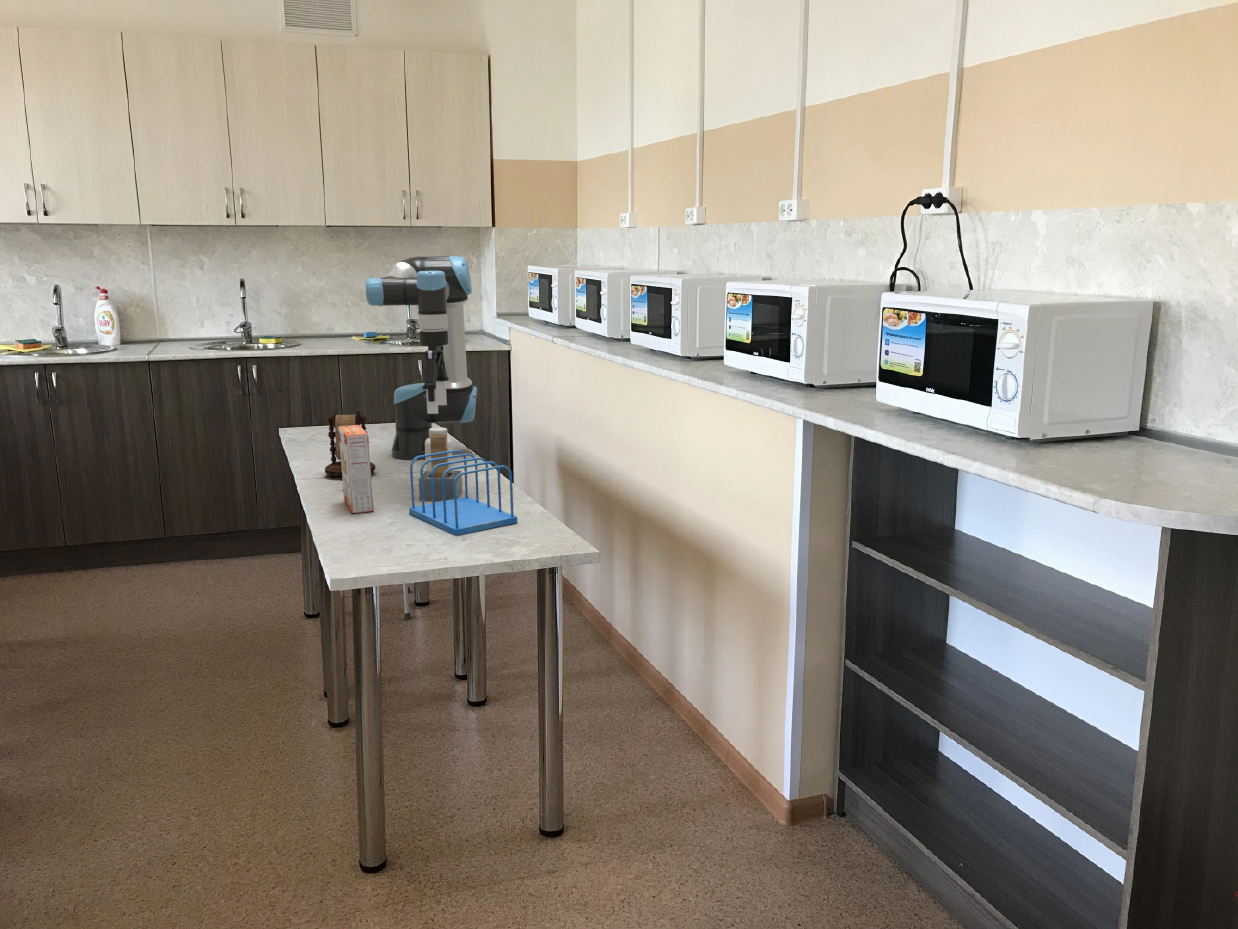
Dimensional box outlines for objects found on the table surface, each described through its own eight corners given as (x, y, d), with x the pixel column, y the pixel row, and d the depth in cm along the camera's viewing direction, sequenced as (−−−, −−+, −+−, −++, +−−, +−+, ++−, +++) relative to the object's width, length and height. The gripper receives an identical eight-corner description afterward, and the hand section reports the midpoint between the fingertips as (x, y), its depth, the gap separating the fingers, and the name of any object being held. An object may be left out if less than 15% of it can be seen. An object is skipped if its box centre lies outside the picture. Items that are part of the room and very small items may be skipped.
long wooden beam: (434, 491, 273) (432, 434, 269) (449, 491, 273) (446, 434, 269) (432, 493, 270) (430, 436, 266) (447, 493, 270) (444, 436, 266)
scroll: (319, 481, 290) (314, 413, 286) (332, 469, 305) (327, 405, 300) (369, 480, 291) (365, 413, 286) (380, 469, 305) (376, 405, 301)
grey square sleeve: (426, 491, 276) (425, 470, 275) (462, 491, 276) (461, 470, 275) (419, 500, 267) (418, 479, 265) (456, 500, 267) (455, 478, 265)
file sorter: (408, 514, 253) (405, 456, 250) (468, 503, 264) (465, 447, 260) (455, 536, 234) (453, 473, 231) (518, 523, 245) (516, 463, 241)
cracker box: (342, 502, 266) (337, 425, 261) (365, 499, 268) (360, 424, 264) (350, 514, 253) (345, 434, 249) (374, 512, 256) (369, 432, 251)
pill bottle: (447, 482, 287) (445, 431, 284) (422, 481, 289) (419, 430, 286) (457, 476, 295) (455, 426, 292) (432, 475, 297) (429, 426, 293)
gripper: (427, 326, 274) (431, 401, 278) (409, 334, 249) (414, 417, 254) (455, 325, 274) (458, 401, 278) (439, 334, 249) (443, 417, 254)
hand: (437, 409), depth 266 cm, fingers open, 13 cm apart
